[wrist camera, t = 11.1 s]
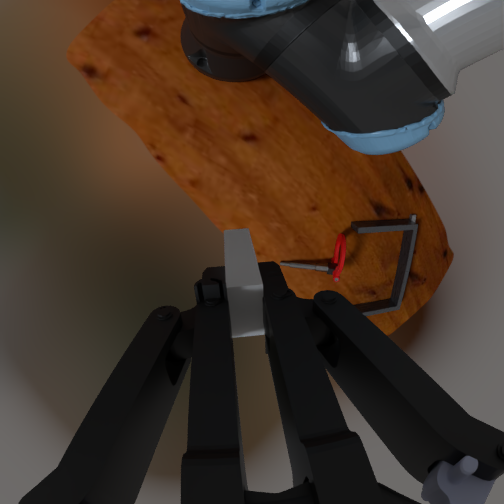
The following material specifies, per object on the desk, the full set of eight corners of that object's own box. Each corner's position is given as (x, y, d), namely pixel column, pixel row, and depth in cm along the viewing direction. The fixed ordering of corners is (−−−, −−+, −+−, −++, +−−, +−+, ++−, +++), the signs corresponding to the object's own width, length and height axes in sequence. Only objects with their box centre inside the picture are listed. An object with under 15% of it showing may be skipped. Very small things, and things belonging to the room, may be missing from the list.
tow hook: (344, 226, 46) (336, 259, 50) (284, 219, 47) (281, 254, 51) (350, 250, 40) (339, 285, 45) (282, 243, 41) (278, 279, 46)
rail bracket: (351, 216, 46) (359, 222, 43) (413, 213, 47) (422, 219, 45) (339, 314, 55) (344, 323, 52) (395, 304, 56) (402, 312, 53)
